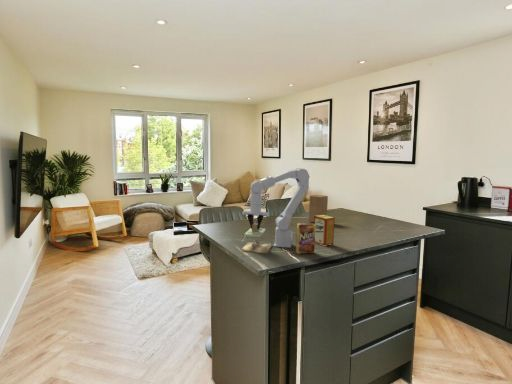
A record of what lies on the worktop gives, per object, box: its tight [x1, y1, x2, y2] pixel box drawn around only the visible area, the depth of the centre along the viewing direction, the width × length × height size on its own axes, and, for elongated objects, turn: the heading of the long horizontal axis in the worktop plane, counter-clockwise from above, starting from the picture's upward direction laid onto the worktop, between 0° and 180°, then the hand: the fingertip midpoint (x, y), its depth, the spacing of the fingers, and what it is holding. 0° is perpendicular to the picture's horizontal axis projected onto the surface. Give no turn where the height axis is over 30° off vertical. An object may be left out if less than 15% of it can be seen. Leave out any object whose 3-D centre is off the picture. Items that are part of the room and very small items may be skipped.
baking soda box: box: [314, 214, 335, 246], centre depth 185 cm, size 10×6×16 cm
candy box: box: [295, 222, 316, 255], centre depth 166 cm, size 9×4×15 cm, turn 93°
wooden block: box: [308, 194, 329, 223], centre depth 244 cm, size 10×10×20 cm
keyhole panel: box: [243, 222, 266, 238], centre depth 178 cm, size 8×13×5 cm, turn 165°
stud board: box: [240, 239, 273, 254], centre depth 173 cm, size 13×13×3 cm
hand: (255, 228), depth 178 cm, fingers closed on keyhole panel, 3 cm apart
